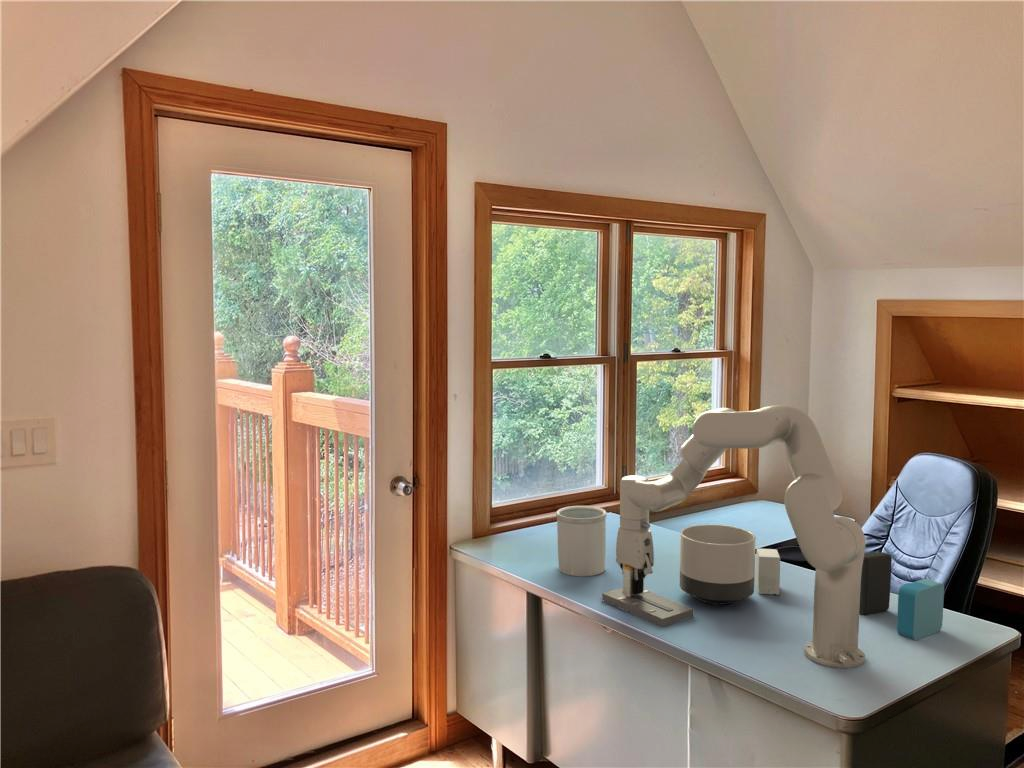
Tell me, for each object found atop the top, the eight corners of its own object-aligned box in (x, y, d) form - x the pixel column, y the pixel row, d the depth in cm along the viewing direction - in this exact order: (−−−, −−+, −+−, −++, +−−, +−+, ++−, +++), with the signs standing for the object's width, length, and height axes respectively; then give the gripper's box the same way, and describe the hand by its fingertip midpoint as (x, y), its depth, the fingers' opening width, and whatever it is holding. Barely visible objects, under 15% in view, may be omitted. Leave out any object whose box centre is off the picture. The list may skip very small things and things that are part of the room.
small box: (779, 595, 225) (780, 557, 224) (758, 594, 226) (759, 556, 225) (776, 585, 233) (777, 548, 232) (755, 584, 234) (756, 547, 233)
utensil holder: (551, 575, 242) (551, 516, 240) (560, 559, 256) (561, 504, 254) (602, 579, 238) (602, 519, 236) (608, 563, 253) (609, 506, 251)
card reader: (879, 606, 217) (881, 550, 215) (891, 611, 213) (893, 554, 212) (851, 611, 214) (853, 554, 212) (863, 616, 210) (865, 558, 208)
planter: (753, 589, 229) (755, 527, 228) (754, 615, 211) (756, 547, 209) (682, 583, 235) (683, 522, 233) (676, 608, 216) (677, 541, 214)
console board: (693, 616, 210) (693, 608, 210) (662, 626, 204) (662, 618, 204) (632, 591, 228) (632, 584, 228) (602, 600, 222) (602, 592, 221)
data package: (924, 624, 205) (926, 577, 204) (942, 630, 201) (945, 582, 200) (895, 635, 198) (898, 586, 197) (913, 641, 195) (916, 592, 193)
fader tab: (643, 592, 220) (643, 564, 219) (629, 596, 217) (630, 567, 216) (636, 590, 222) (637, 561, 221) (623, 594, 219) (623, 565, 218)
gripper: (667, 527, 213) (665, 597, 215) (623, 514, 226) (622, 580, 228) (645, 532, 209) (644, 603, 211) (602, 519, 222) (602, 585, 224)
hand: (633, 591), depth 220 cm, fingers closed on fader tab, 2 cm apart
